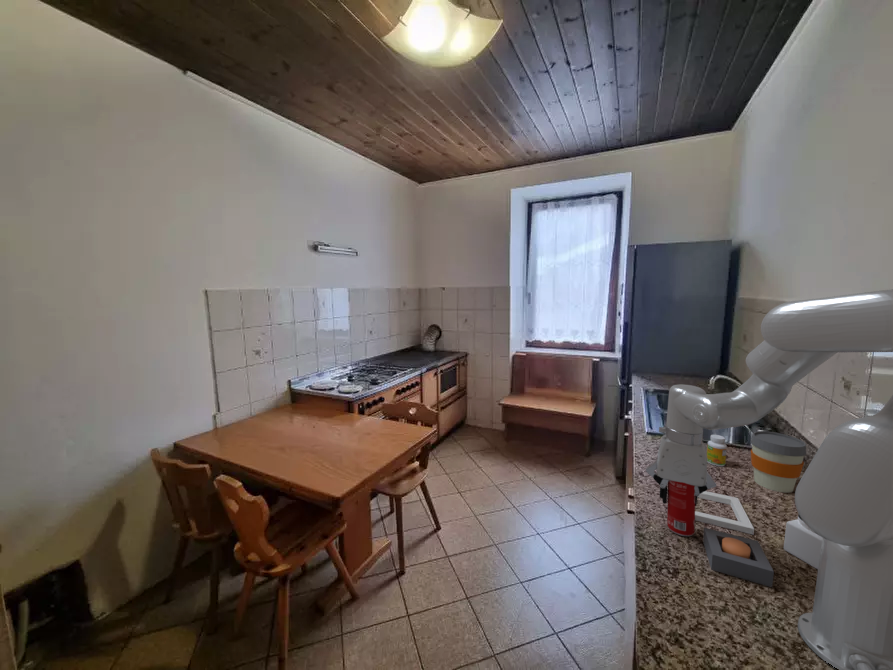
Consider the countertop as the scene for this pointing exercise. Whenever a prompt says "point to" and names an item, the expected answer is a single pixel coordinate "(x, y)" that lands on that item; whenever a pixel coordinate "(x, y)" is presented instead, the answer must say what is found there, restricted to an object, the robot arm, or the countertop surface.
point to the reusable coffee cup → (777, 460)
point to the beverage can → (681, 508)
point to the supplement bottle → (716, 450)
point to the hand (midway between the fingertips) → (677, 503)
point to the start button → (735, 547)
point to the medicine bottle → (803, 542)
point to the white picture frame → (740, 525)
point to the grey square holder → (738, 559)
